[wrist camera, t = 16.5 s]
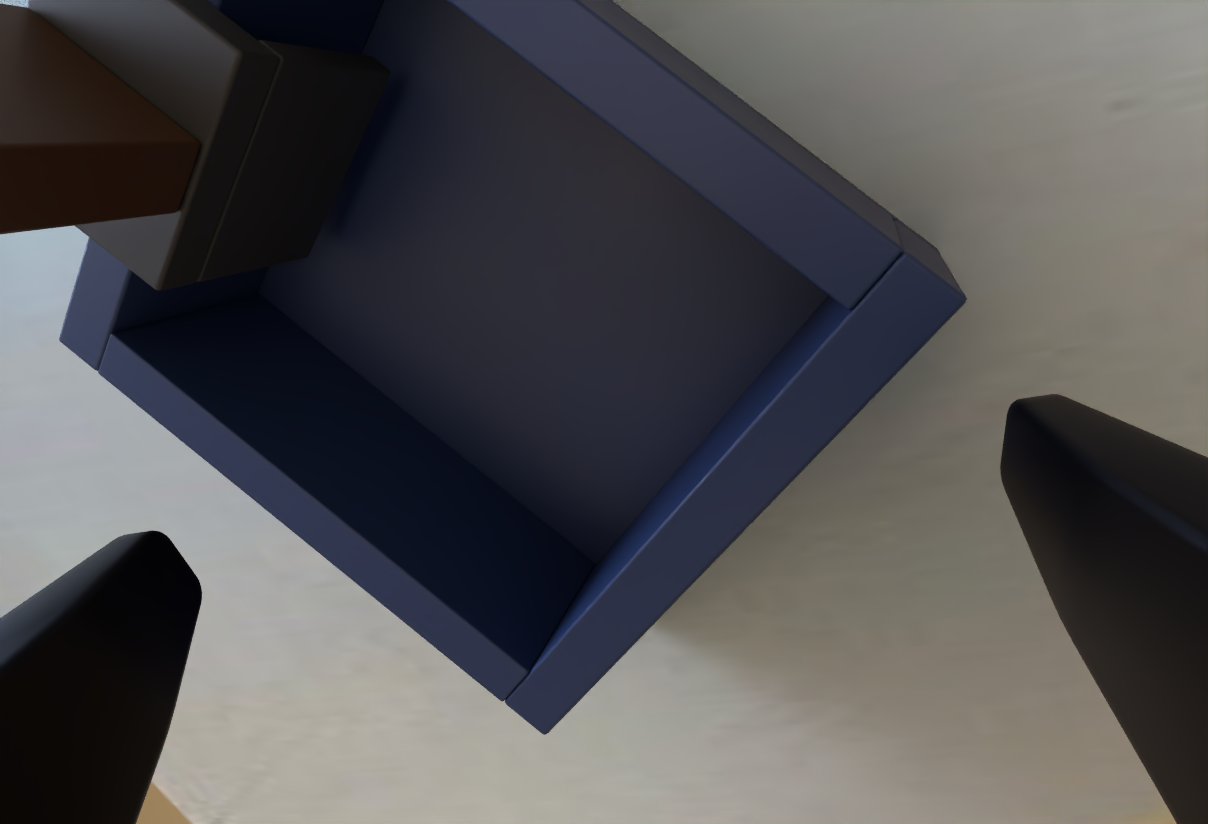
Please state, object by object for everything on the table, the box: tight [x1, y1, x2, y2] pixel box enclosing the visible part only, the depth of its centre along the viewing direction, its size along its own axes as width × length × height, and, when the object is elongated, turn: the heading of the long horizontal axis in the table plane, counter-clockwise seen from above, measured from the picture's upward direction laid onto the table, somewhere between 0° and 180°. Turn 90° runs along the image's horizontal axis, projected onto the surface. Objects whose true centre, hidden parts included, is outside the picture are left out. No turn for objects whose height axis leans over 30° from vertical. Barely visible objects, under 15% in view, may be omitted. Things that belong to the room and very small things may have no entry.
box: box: [59, 0, 967, 735], centre depth 17 cm, size 14×12×5 cm
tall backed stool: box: [0, 0, 391, 291], centre depth 12 cm, size 4×5×12 cm
